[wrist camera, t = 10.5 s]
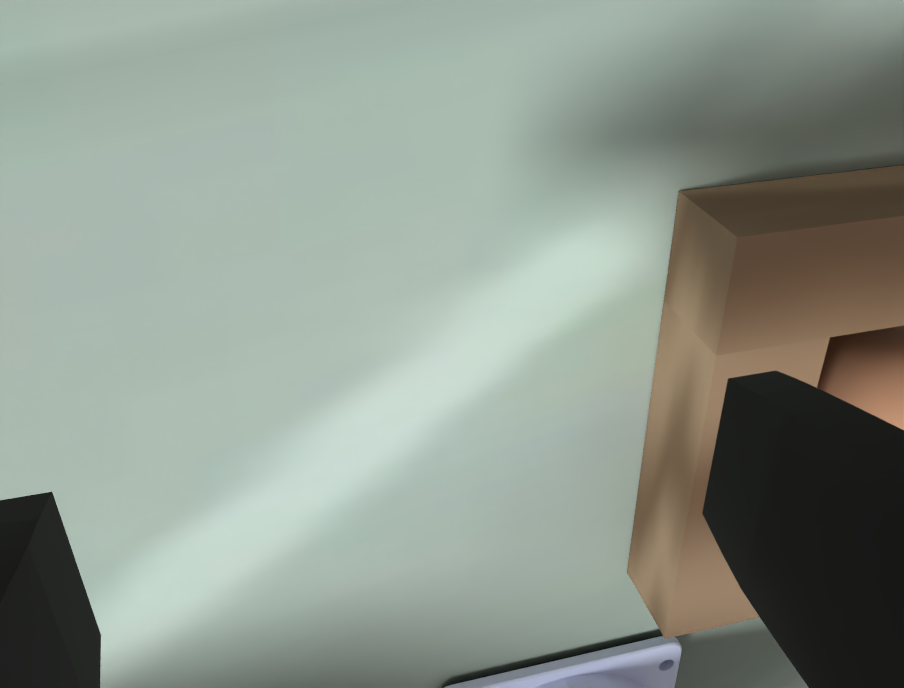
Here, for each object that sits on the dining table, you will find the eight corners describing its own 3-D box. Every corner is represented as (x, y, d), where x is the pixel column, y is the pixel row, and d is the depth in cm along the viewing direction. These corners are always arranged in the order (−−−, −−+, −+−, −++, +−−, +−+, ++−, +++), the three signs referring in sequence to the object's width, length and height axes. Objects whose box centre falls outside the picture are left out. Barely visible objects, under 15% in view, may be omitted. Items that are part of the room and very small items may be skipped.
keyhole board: (969, 499, 28) (1030, 554, 26) (626, 572, 26) (665, 639, 24) (1115, 140, 22) (1211, 175, 20) (679, 191, 19) (737, 237, 17)
